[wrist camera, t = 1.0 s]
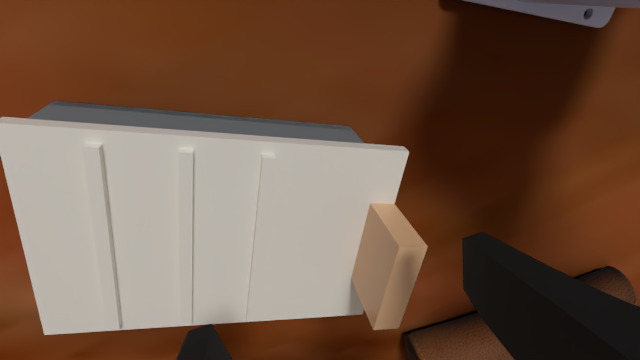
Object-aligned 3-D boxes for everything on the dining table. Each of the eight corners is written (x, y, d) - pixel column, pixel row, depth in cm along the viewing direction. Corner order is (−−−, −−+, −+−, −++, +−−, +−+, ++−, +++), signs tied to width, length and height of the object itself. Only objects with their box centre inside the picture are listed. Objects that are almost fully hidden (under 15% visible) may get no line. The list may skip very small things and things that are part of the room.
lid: (391, 135, 17) (448, 187, 13) (351, 288, 21) (384, 367, 17) (23, 105, 13) (-82, 165, 9) (62, 300, 17) (4, 409, 13)
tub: (349, 126, 18) (368, 147, 16) (320, 264, 22) (332, 299, 20) (54, 100, 15) (19, 123, 12) (81, 270, 19) (59, 313, 16)
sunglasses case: (407, 391, 31) (441, 445, 25) (385, 313, 31) (413, 345, 25) (589, 328, 33) (666, 361, 27) (568, 254, 33) (640, 269, 27)
